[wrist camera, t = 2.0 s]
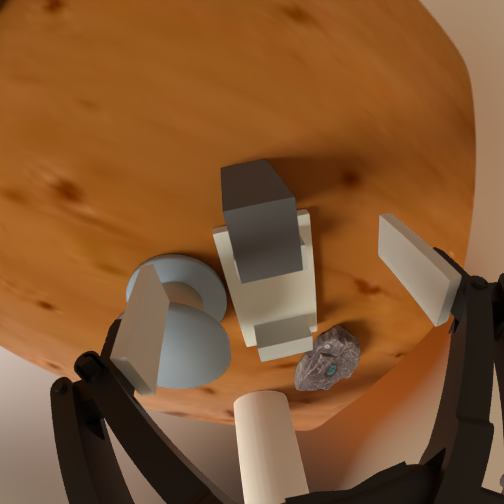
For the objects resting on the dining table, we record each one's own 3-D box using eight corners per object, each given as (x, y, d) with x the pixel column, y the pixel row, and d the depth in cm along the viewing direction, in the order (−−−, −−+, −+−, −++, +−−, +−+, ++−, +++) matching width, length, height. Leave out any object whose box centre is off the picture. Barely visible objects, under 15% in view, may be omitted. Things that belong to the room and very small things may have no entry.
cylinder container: (289, 386, 42) (329, 555, 17) (285, 411, 47) (316, 552, 21) (231, 393, 41) (253, 568, 16) (235, 417, 46) (254, 562, 21)
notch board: (212, 228, 27) (212, 254, 23) (305, 208, 27) (321, 230, 23) (245, 340, 35) (250, 369, 31) (314, 324, 35) (325, 351, 31)
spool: (113, 266, 27) (87, 321, 20) (211, 243, 27) (211, 299, 20) (151, 337, 33) (142, 392, 26) (235, 322, 33) (242, 380, 26)
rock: (366, 324, 37) (379, 348, 33) (332, 373, 42) (340, 395, 38) (317, 321, 35) (328, 347, 31) (287, 372, 40) (293, 397, 37)
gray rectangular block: (220, 168, 24) (223, 211, 15) (265, 158, 24) (294, 196, 15) (232, 218, 26) (241, 284, 18) (274, 210, 26) (303, 270, 18)
